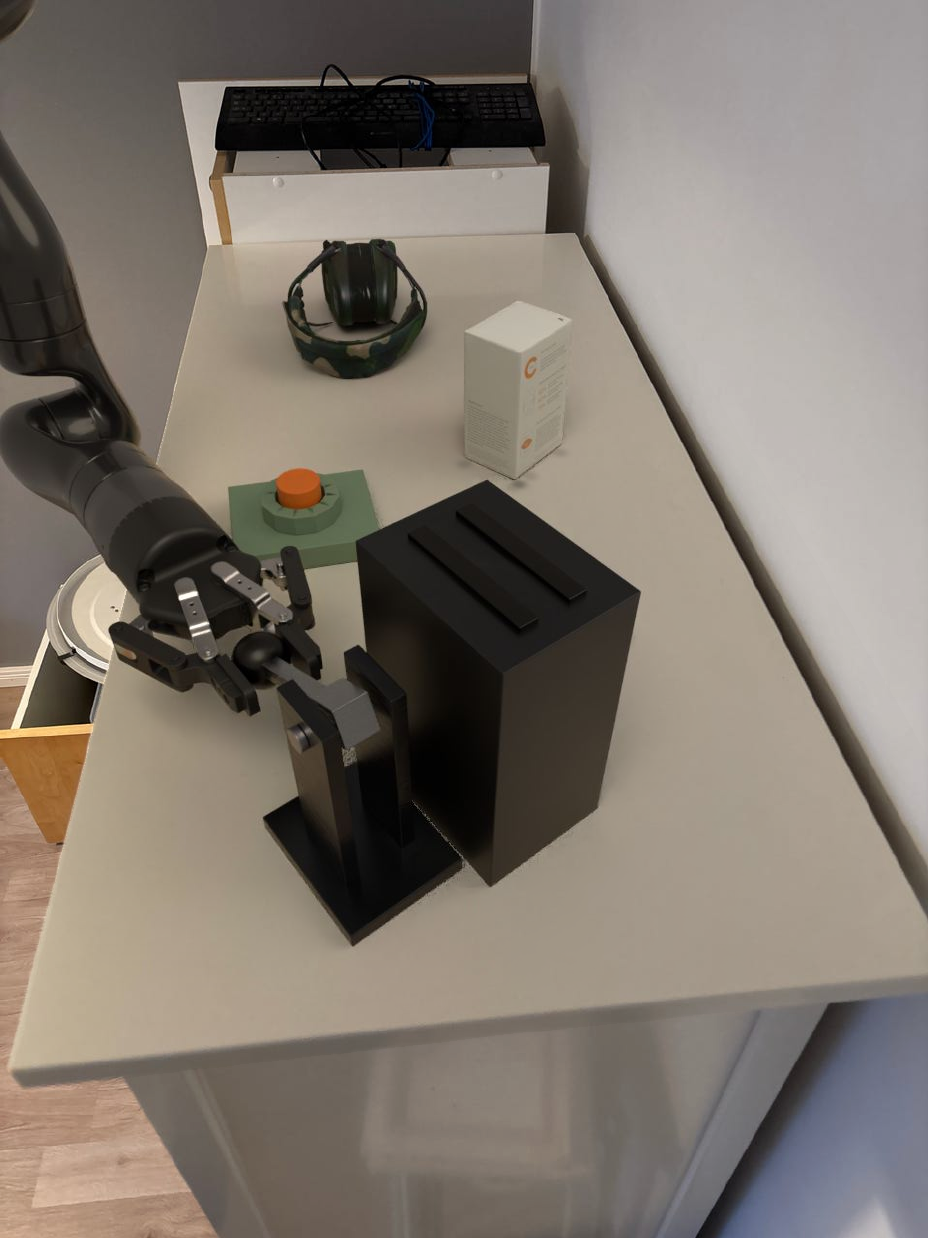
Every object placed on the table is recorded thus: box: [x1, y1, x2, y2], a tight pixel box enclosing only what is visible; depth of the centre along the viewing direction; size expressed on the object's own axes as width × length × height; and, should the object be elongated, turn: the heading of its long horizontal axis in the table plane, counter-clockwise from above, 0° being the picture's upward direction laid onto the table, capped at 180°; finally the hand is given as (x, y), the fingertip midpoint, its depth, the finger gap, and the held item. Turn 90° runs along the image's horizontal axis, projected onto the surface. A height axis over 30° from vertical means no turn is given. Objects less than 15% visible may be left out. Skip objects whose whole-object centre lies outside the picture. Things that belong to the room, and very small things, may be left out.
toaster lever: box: [230, 631, 381, 751], centre depth 50 cm, size 14×4×4 cm, turn 39°
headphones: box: [281, 238, 428, 379], centre depth 100 cm, size 13×13×20 cm
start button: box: [276, 467, 322, 510], centre depth 74 cm, size 4×4×2 cm
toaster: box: [355, 479, 642, 888], centre depth 52 cm, size 12×9×19 cm
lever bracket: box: [262, 644, 463, 947], centre depth 50 cm, size 10×8×15 cm
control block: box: [227, 469, 381, 570], centre depth 76 cm, size 12×10×4 cm
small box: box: [463, 300, 574, 480], centre depth 82 cm, size 8×6×13 cm
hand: (284, 687), depth 53 cm, fingers closed on toaster lever, 3 cm apart
